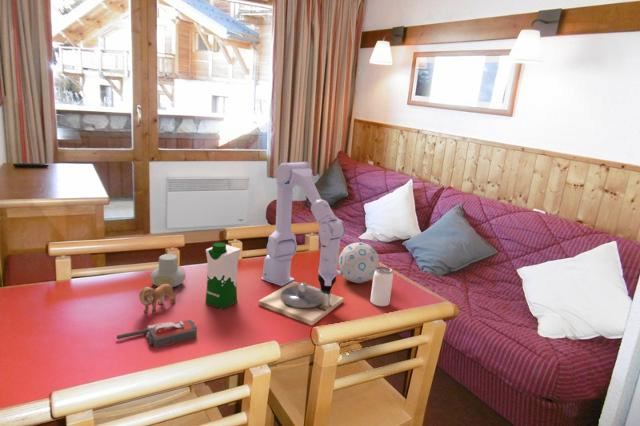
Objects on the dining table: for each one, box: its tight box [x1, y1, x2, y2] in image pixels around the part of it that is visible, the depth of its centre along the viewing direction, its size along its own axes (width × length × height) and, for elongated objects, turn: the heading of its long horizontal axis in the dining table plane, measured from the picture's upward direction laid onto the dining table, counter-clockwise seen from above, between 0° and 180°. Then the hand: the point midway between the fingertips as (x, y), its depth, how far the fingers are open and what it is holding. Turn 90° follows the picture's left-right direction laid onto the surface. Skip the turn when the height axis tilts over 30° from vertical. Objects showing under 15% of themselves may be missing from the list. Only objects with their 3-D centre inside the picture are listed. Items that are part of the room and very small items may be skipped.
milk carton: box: [205, 241, 242, 310], centre depth 139 cm, size 9×9×20 cm
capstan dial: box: [281, 281, 332, 309], centre depth 144 cm, size 17×14×5 cm
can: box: [370, 266, 394, 308], centre depth 150 cm, size 6×6×12 cm
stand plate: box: [257, 280, 344, 326], centre depth 146 cm, size 20×20×2 cm
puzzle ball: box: [338, 241, 380, 284], centre depth 166 cm, size 15×15×15 cm
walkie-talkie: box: [116, 319, 198, 348], centre depth 119 cm, size 9×4×20 cm
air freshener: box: [150, 253, 186, 288], centre depth 149 cm, size 11×8×10 cm
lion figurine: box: [138, 284, 176, 315], centre depth 133 cm, size 15×5×9 cm, turn 164°
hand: (324, 297), depth 143 cm, fingers closed
